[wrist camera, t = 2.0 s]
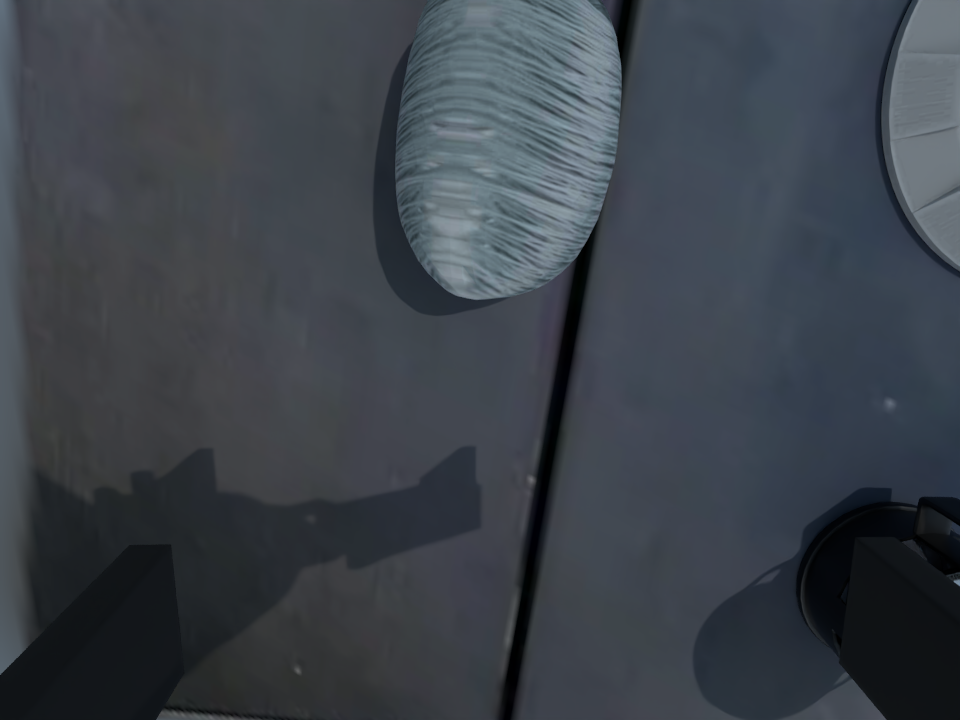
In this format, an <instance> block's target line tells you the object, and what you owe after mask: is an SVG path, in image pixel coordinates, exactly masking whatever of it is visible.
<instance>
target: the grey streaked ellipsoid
mask: <svg viewBox="0 0 960 720" xmlns="http://www.w3.org/2000/svg"><path fill="white" fill-rule="evenodd" d="M620 104H621V62H620V57H619V51H618V45H617V38H616V35H615V31H614V28H613V25H612V22H611V20H610V17H609V14H608V11H607V10H606V8H605V6H604V5H603V3H602V1H601V0H429V1H428V2H427V4H426V6H425V8H424V10H423V12H422V14H421V17H420V19H419V21H418V26H417V30H416V34H415V38H414V42H413V45H412V48H411V51H410V55H409V59H408V64H407V70H406V76H405V80H404V84H403V90H402V96H401V103H400V110H399V117H398V125H397V136H396V157H395V182H396V197H397V205H398V211H399V216H400V220H401V224H402V226H403V229H404V232H405V234H406V237H407V239H408V242H409V244H410V246H411V248H412V249H413V251H414V253H415V255H416V257H417V259H418V261H419V262H420V263H421V265H422V266H423V267H424V269H425V270H426V271H427V273H428V274H429V275H430V276H431V277H432V278H433V279H434V280H435V281H437V282H438V283H439V284H440V285H441V286H442V287H443V288H444V289H446V290H447V291H448V292H450V293H452V294H454V295H456V296H459V297H464V298H468V299H474V300H480V299H493V298H502V297H511V296H515V295H519V294H522V293H526V292H529V291H532V290H535V289H537V288H539V287H541V286H543V285H544V284H546V283H548V282H549V281H551V280H552V279H554V278H555V277H556V276H558V275H559V274H560V273H561V272H562V271H564V270H565V269H566V268H567V267H568V266H569V265H570V264H571V263H572V262H573V260H574V259H575V258H576V257H577V255H578V254H579V252H580V251H581V249H582V247H583V246H584V244H585V243H586V241H587V239H588V237H589V235H590V233H591V231H592V229H593V227H594V225H595V223H596V221H597V219H598V217H599V214H600V211H601V208H602V205H603V202H604V199H605V195H606V192H607V188H608V185H609V181H610V178H611V174H612V171H613V167H614V163H615V157H616V151H617V142H618V129H619V117H620Z"/></svg>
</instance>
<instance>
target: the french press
mask: <svg viewBox="0 0 960 720" xmlns="http://www.w3.org/2000/svg"><path fill="white" fill-rule="evenodd" d="M952 521H953V522H954V523H956V524H957V525H959V526H960V500H959V499H957V498H953V497H921V498H920V499H919V502H918V506H915V505H912V504H905V503H897V502H888V503H876V504H872V505H868V506H864V507H860V508H858V509H856V510H853V511H851V512H849V513H847V514H844V515H843V516H841V517H840V518H838V519H837V520H835V521H834V522H832V523H831V524H830V525H829V526H827V527H826V528H825V529H824V530H823V531H822V532H821V533H820V534H819V535H818V536H817V538H816V539H815V540H814V542H813V543H812V544H811V546H810V547H809V548H808V550H807V552H806V554H805V556H804V558H803V560H802V562H801V565H800V569H799V573H798V577H797V591H796V594H797V600H798V606H799V609H800V612H801V614H802V617H803V619H804V621H805V623H806V624H807V626H808V627H809V628H810V630H811V631H812V633H813V634H814V635H815V636H816V637H817V638H818V639H819V640H820V641H822V642H823V643H824V644H825V645H826V646H828V647H830V648H831V649H832V650H833V651H834V652H835V653H836V655H837V656H838V657H839V658H840V652H841V644H842V636H843V629H844V621H845V613H846V606H847V604H846V603H845V602H844V601H843V600H842V599H841V598H840V597H841V595H842V593H843V591H844V589H845V587H846V585H847V583H848V582H849V581H850V575H851V567H852V559H853V552H854V544H855V537H895V538H896V539H898V540H899V541H900V542H903V541H907V540H911V539H915V538H918V539H919V540H920V541H922V542H923V543H925V544H926V545H927V546H929V547H930V548H932V549H933V550H934V551H936V552H937V553H939V555H940V557H941V560H942V564H943V571H941V572H942V573H943V574H944V575H946V576H947V577H948V578H950V579H951V580H952V581H954V582H955V583H956V584H958V585H959V586H960V535H958V534H957V533H955V532H954V530H953V529H952V528H951V526H952Z"/></svg>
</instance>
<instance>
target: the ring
mask: <svg viewBox="0 0 960 720" xmlns="http://www.w3.org/2000/svg"><path fill="white" fill-rule="evenodd" d="M881 127H882V141H883V150H884V156H885V161H886V166H887V170H888V174H889V177H890V180H891V183H892V187H893V189H894V192H895V194H896V197H897V199H898V201H899V203H900V206H901V208H902V210H903V211H904V213H905V215H906V217H907V219H908V220H909V222H910V223H911V225H912V226H913V228H914V229H915V231H916V232H917V233H918V235H919V236H920V237H921V238H922V239H923V241H924V242H925V243H926V244H927V245H928V246H929V247H930V248H931V249H932V250H933V251H934V252H935V253H936V254H937V255H938V256H939V257H941V258H942V259H943V260H944V261H945V262H947V263H948V264H949V265H951V266H952V267H954V268H955V269H957V270H958V271H960V0H912V2H911V4H910V6H909V8H908V10H907V12H906V14H905V16H904V18H903V21H902V23H901V25H900V28H899V30H898V33H897V36H896V39H895V42H894V45H893V48H892V51H891V55H890V58H889V62H888V66H887V71H886V76H885V82H884V88H883V97H882V114H881Z"/></svg>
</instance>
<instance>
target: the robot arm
mask: <svg viewBox="0 0 960 720" xmlns="http://www.w3.org/2000/svg"><path fill="white" fill-rule="evenodd" d="M839 663H840V664H841V666H842V667H843V668H844V669H845V670H846V672H847V673H848V674H849V675H850V676H851V678H852V679H853V680H854V681H855V682H856V684H857V685H858V686H859V687H860V688H861V690H862V691H863V692H864V693H865V694H866V695H867V697H868V698H869V699H870V700H871V701H872V703H873V704H874V705H875V706H876V707H877V709H878V710H879V711H880V712H881V713H882V715H883V716H884V717H885V718H886V719H887V720H960V586H959V585H958V584H956V583H955V582H954V581H952V580H951V579H950V578H948V577H947V576H946V575H944V574H943V573H942V572H940V571H939V570H938V569H936V568H935V567H934V566H932V565H931V564H930V563H928V562H927V561H926V560H924V559H923V558H922V557H920V556H919V555H918V554H916V553H915V552H914V551H912V550H911V549H910V548H908V547H907V546H906V545H904V544H903V543H902V542H900V541H899V540H898V539H896V538H895V537H855V544H854V552H853V559H852V567H851V575H850V582H849V590H848V598H847V606H846V613H845V621H844V629H843V636H842V644H841V652H840V659H839ZM183 674H184V665H183V655H182V646H181V636H180V626H179V617H178V607H177V597H176V588H175V578H174V569H173V559H172V549H171V545H129V546H128V547H127V548H126V549H125V550H124V551H123V552H122V553H121V555H120V556H119V557H118V558H117V559H116V560H115V561H114V562H113V563H112V564H111V565H110V566H109V567H108V568H107V569H106V570H105V571H104V572H103V573H102V574H101V575H100V576H99V577H98V578H97V579H96V580H95V581H94V582H93V583H92V584H91V585H90V586H89V587H88V588H87V589H86V590H85V591H84V592H83V593H82V594H81V595H80V596H79V597H78V598H77V599H76V600H75V601H74V602H73V603H72V604H71V605H70V606H69V607H68V608H67V609H66V610H65V611H64V612H63V613H62V614H61V615H60V616H59V617H58V618H57V619H56V620H55V621H54V622H53V623H52V624H51V625H50V626H49V627H48V628H47V629H46V630H45V631H44V632H43V633H42V634H41V635H40V636H39V637H38V638H37V639H36V640H35V641H34V642H33V643H32V644H31V645H30V646H29V647H28V648H27V649H26V650H25V651H24V652H23V653H22V654H21V655H20V656H19V657H18V658H17V659H16V660H15V661H14V662H13V663H12V664H11V665H10V666H9V667H8V668H7V669H6V670H5V671H4V672H3V673H2V674H1V675H0V720H156V719H157V717H158V716H159V714H160V712H161V711H162V709H163V707H164V706H165V704H166V702H167V701H168V699H169V697H170V696H171V694H172V692H173V691H174V689H175V687H176V686H177V684H178V682H179V681H180V679H181V677H182V676H183Z"/></svg>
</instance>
